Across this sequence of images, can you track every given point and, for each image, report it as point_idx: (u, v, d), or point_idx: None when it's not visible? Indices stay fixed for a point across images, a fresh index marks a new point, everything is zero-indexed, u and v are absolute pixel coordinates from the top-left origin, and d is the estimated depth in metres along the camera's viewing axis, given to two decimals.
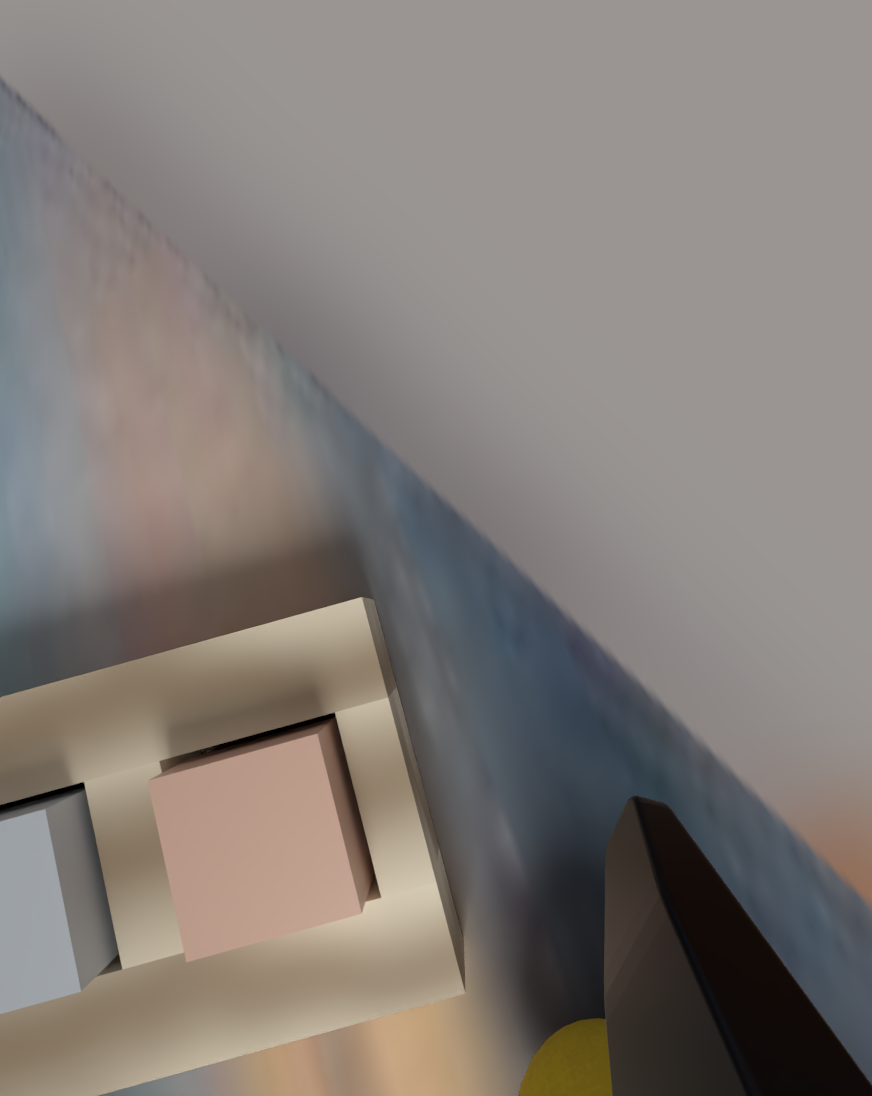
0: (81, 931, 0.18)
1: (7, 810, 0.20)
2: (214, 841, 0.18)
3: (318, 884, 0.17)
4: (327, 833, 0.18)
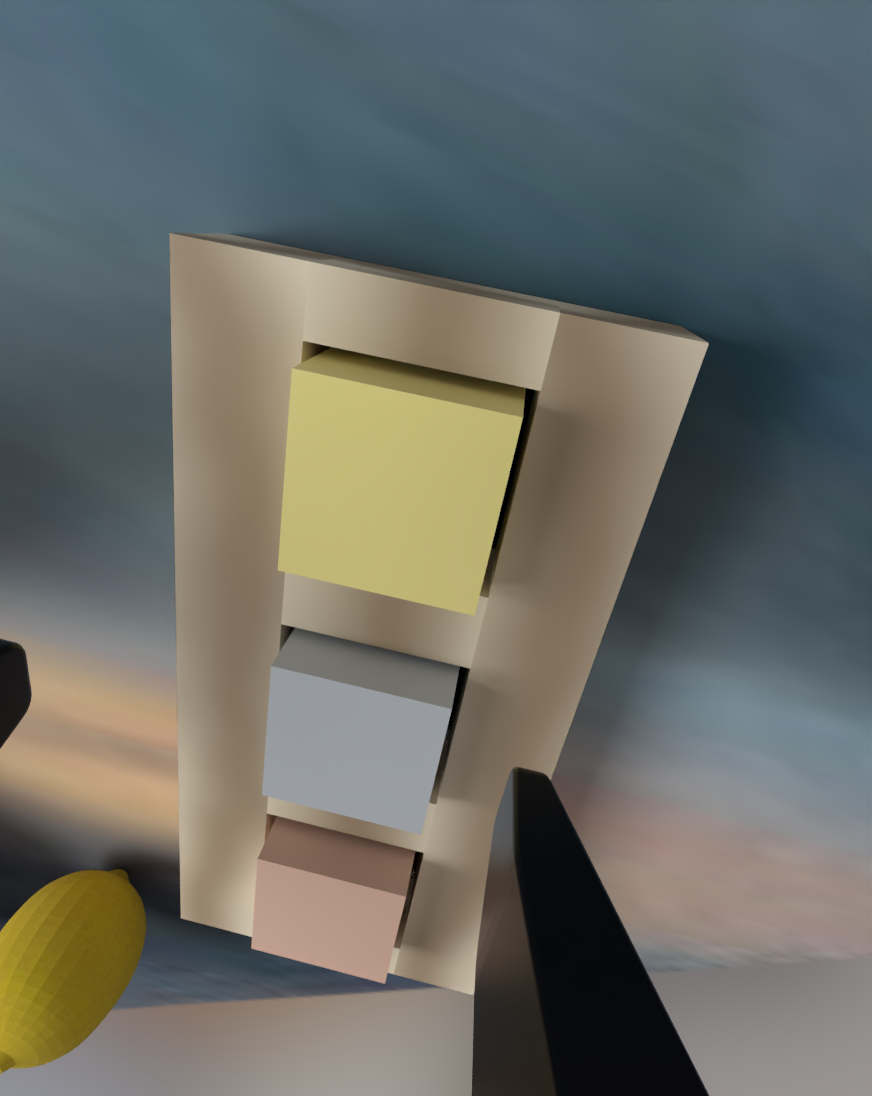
0: None
1: None
2: (338, 908, 0.21)
3: (280, 939, 0.22)
4: (313, 958, 0.23)
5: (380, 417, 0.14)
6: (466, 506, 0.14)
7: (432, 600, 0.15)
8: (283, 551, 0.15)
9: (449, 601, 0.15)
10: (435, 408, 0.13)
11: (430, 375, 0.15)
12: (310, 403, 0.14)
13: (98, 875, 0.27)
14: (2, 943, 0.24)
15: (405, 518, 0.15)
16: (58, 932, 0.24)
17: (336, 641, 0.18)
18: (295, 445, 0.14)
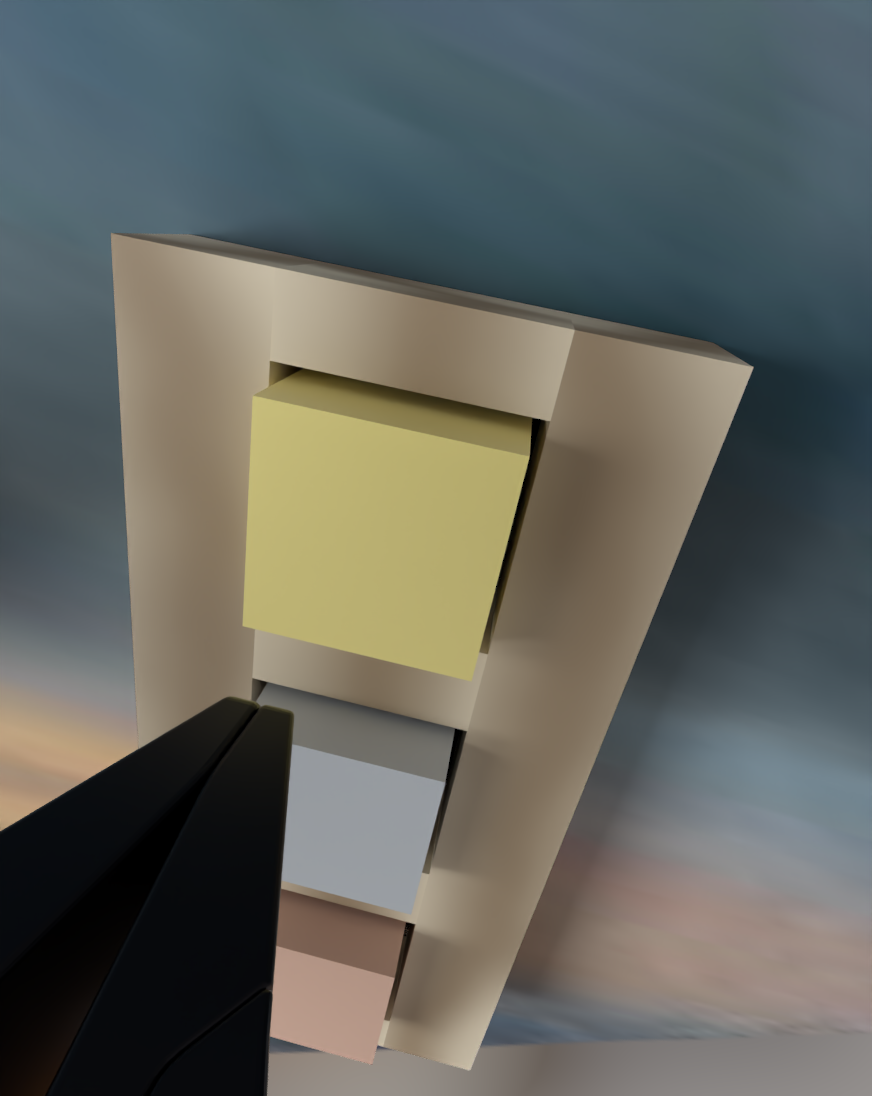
0: None
1: None
2: (320, 987, 0.19)
3: None
4: (292, 1037, 0.20)
5: (358, 454, 0.11)
6: (461, 558, 0.12)
7: (422, 663, 0.13)
8: (248, 605, 0.13)
9: (442, 664, 0.13)
10: (424, 445, 0.11)
11: (420, 400, 0.13)
12: (275, 437, 0.11)
13: None
14: None
15: (390, 570, 0.12)
16: None
17: (316, 696, 0.16)
18: (259, 485, 0.12)
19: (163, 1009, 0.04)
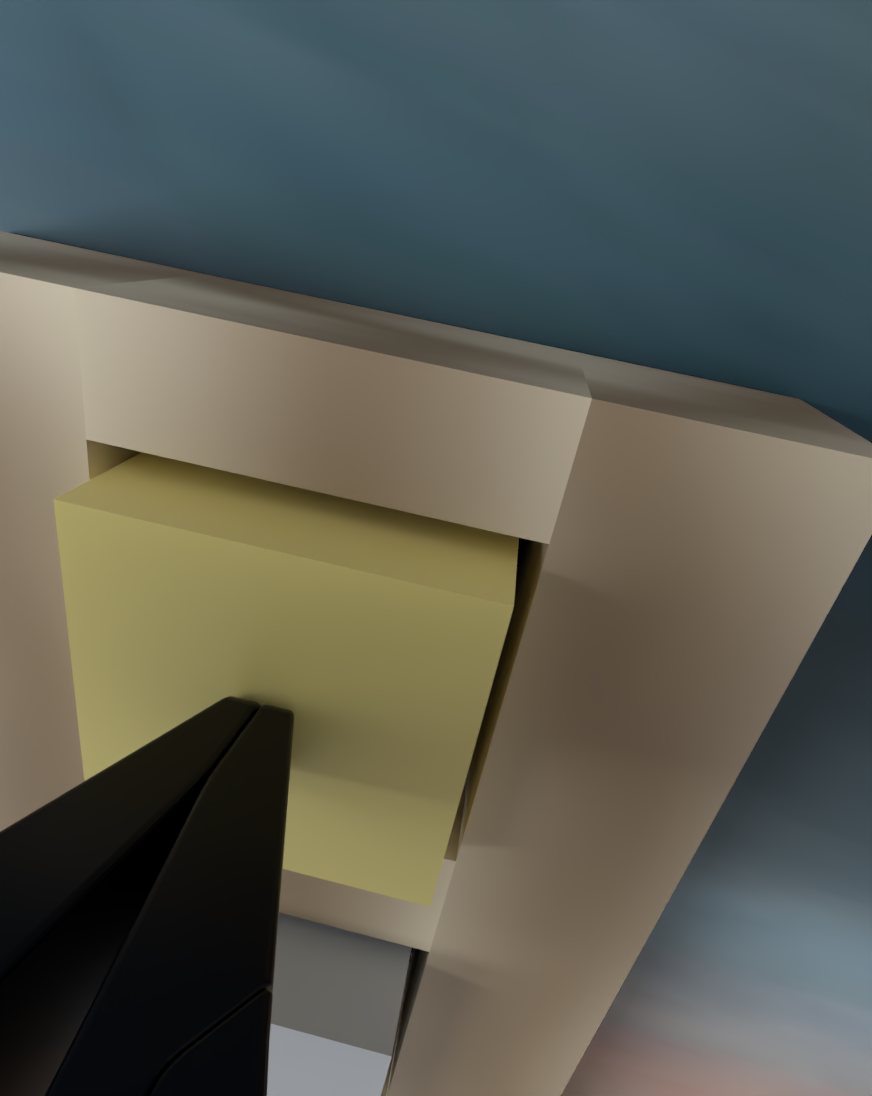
0: None
1: None
2: None
3: None
4: None
5: (233, 591, 0.07)
6: (408, 746, 0.08)
7: (355, 879, 0.09)
8: None
9: (385, 884, 0.09)
10: (338, 583, 0.07)
11: None
12: (99, 563, 0.07)
13: None
14: None
15: (297, 758, 0.08)
16: None
17: None
18: (83, 633, 0.07)
19: (163, 1009, 0.04)
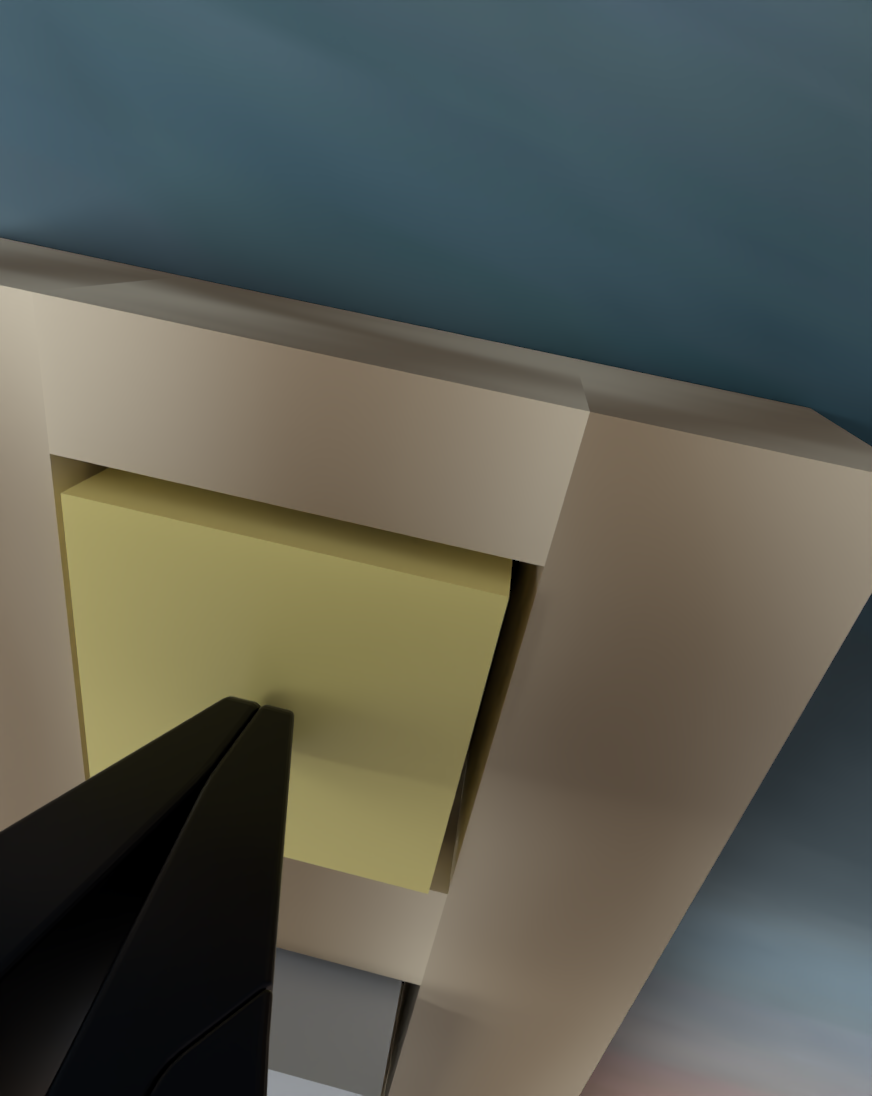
0: None
1: None
2: None
3: None
4: None
5: (235, 583, 0.07)
6: (406, 736, 0.08)
7: (355, 867, 0.09)
8: None
9: (383, 872, 0.09)
10: (337, 573, 0.07)
11: None
12: (105, 555, 0.07)
13: None
14: None
15: (299, 746, 0.08)
16: None
17: None
18: (89, 623, 0.08)
19: (163, 1008, 0.04)
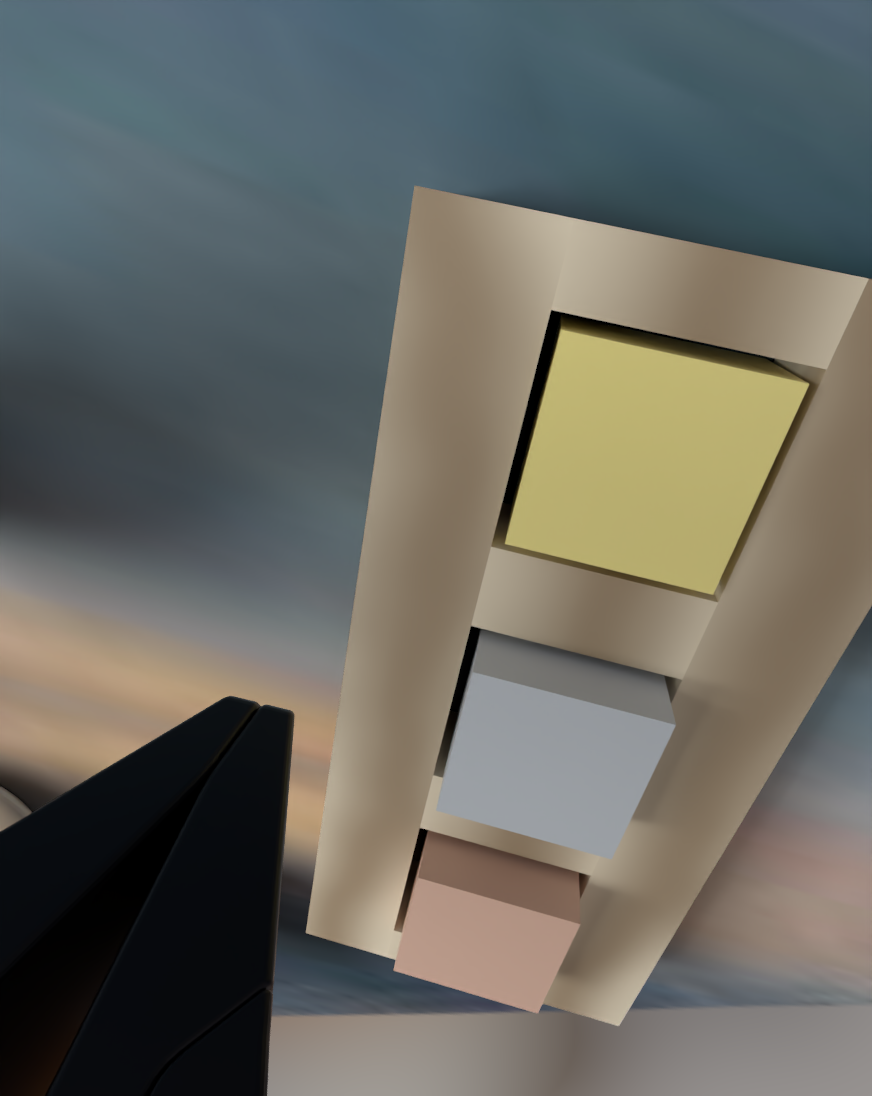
0: None
1: None
2: (500, 933, 0.20)
3: (428, 962, 0.21)
4: (461, 984, 0.21)
5: (649, 382, 0.13)
6: (727, 478, 0.14)
7: (669, 577, 0.15)
8: (515, 524, 0.15)
9: (688, 579, 0.15)
10: (712, 373, 0.13)
11: (676, 343, 0.15)
12: (574, 367, 0.13)
13: None
14: None
15: (656, 490, 0.14)
16: None
17: (529, 645, 0.17)
18: (549, 412, 0.14)
19: (165, 1009, 0.04)
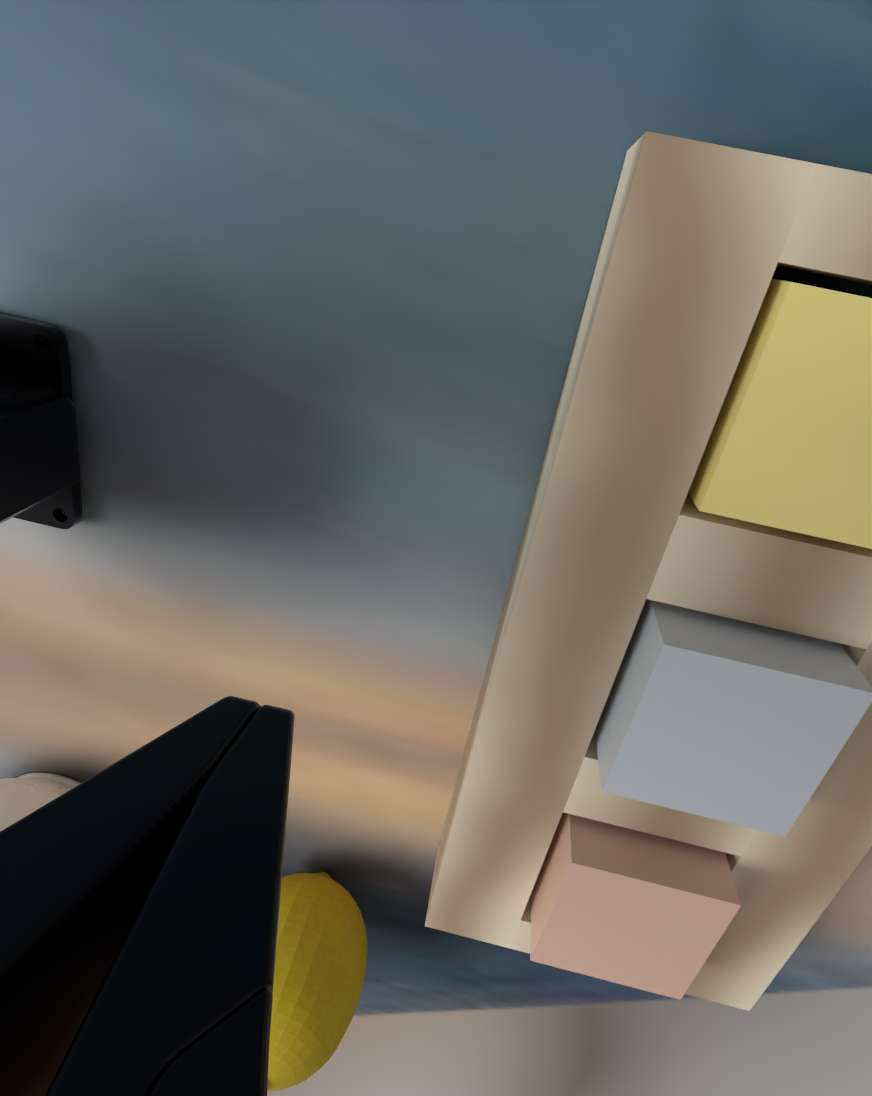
0: None
1: None
2: (652, 917, 0.19)
3: (569, 951, 0.20)
4: (602, 972, 0.21)
5: None
6: None
7: (871, 542, 0.14)
8: (712, 489, 0.14)
9: None
10: None
11: None
12: (800, 322, 0.13)
13: (317, 879, 0.25)
14: None
15: (871, 450, 0.14)
16: (301, 942, 0.22)
17: (703, 618, 0.16)
18: (766, 370, 0.13)
19: (163, 1009, 0.04)
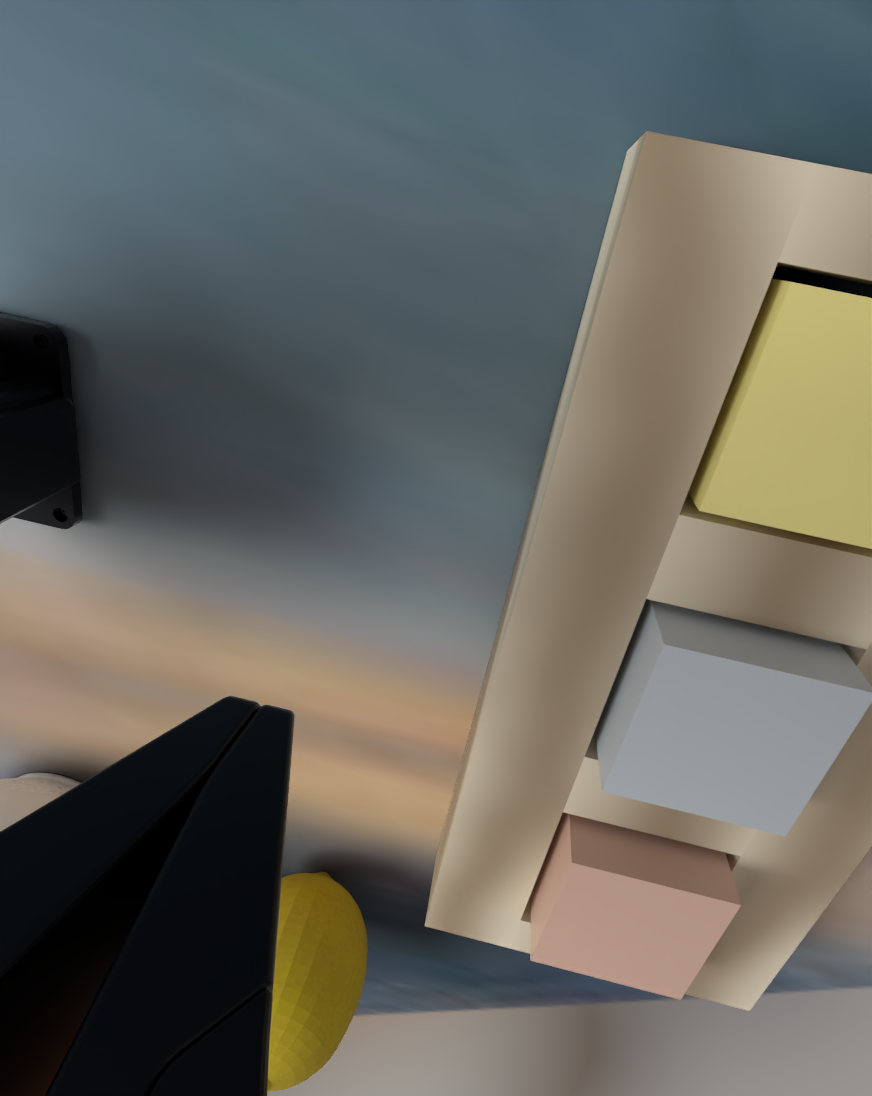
0: None
1: None
2: (652, 917, 0.19)
3: (569, 951, 0.20)
4: (602, 972, 0.21)
5: None
6: None
7: (871, 542, 0.14)
8: (712, 489, 0.14)
9: None
10: None
11: None
12: (800, 322, 0.13)
13: (317, 879, 0.25)
14: None
15: (871, 450, 0.14)
16: (301, 942, 0.22)
17: (703, 618, 0.16)
18: (766, 370, 0.13)
19: (165, 1009, 0.04)
